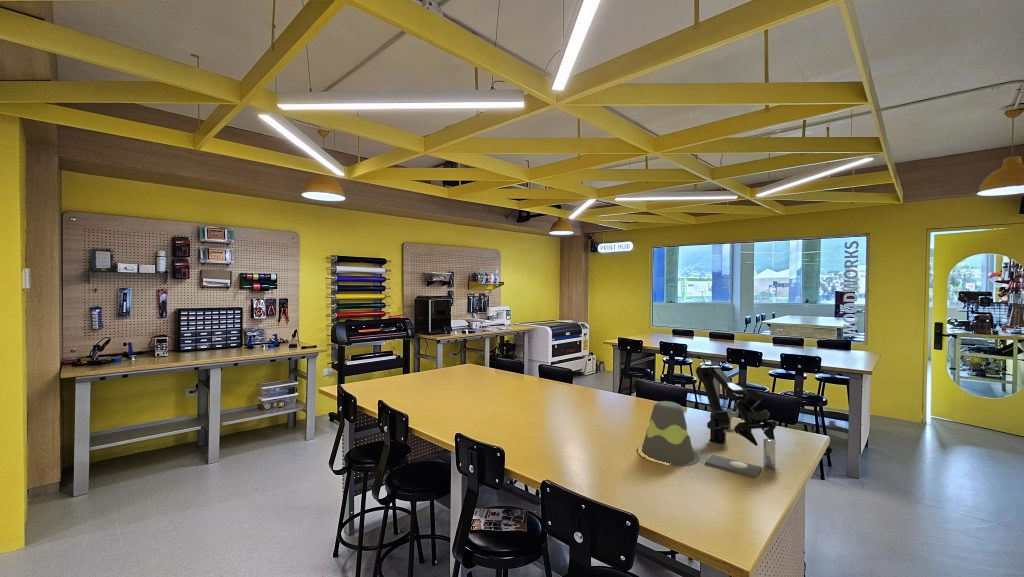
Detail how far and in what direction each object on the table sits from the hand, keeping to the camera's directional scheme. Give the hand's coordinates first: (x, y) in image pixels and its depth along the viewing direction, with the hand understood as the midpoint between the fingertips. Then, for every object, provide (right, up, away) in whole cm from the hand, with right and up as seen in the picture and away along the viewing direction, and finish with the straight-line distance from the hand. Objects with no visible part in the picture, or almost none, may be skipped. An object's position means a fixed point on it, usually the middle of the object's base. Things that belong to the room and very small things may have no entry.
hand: (765, 444), depth 187 cm
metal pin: (0, -9, -2) cm, 10 cm away
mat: (-15, -9, -1) cm, 18 cm away
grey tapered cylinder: (-39, -10, +13) cm, 42 cm away
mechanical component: (+11, -10, +53) cm, 55 cm away
